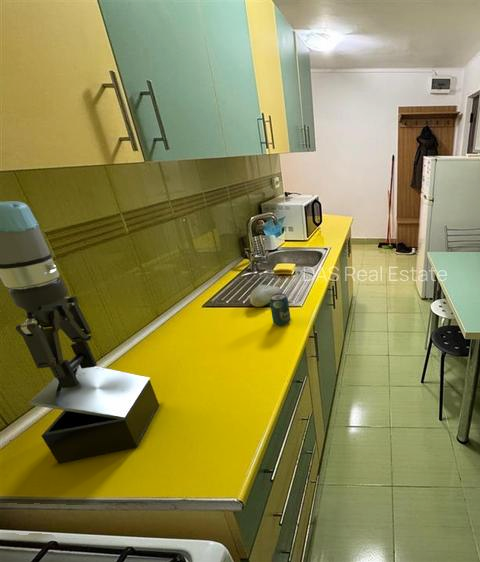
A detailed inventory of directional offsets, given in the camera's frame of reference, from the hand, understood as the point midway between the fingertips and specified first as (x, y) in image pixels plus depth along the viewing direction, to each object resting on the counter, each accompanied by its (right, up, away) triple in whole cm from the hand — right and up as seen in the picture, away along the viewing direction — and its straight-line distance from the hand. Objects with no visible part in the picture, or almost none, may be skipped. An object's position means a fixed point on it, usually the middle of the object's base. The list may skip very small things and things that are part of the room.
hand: (80, 375), depth 69 cm
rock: (+15, +12, +74) cm, 76 cm away
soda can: (+29, +4, +55) cm, 63 cm away
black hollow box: (+1, -16, +7) cm, 18 cm away
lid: (+2, -4, +2) cm, 5 cm away
